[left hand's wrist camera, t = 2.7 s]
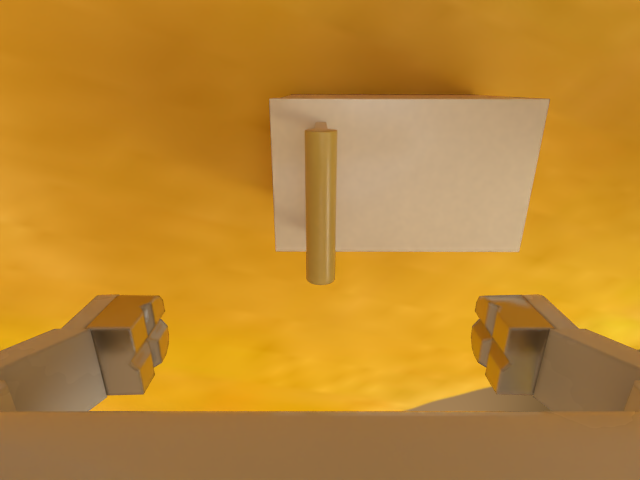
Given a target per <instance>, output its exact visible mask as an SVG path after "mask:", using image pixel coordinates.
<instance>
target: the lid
mask: <svg viewBox="0 0 640 480" xmlns="http://www.w3.org/2000/svg"><path fill="white" fill-rule="evenodd" d="M549 102H550V99H542V98H270V99H269V107H270V131H271V154H272V177H273V200H274V223H275V247H276V251H306V278H307V280H308V282H310V283H312V284H316V285H326V284H330V283H332V282H333V281H334V280H335V251H366V252H519V249H520V245H521V240H522V235H523V230H524V225H525V220H526V215H527V210H528V205H529V200H530V195H531V190H532V185H533V181H534V176H535V171H536V166H537V161H538V156H539V151H540V146H541V141H542V136H543V131H544V126H545V121H546V117H547V112H548V107H549Z"/></svg>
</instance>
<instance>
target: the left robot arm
mask: <svg viewBox="0 0 640 480" xmlns="http://www.w3.org/2000/svg"><path fill="white" fill-rule="evenodd" d="M164 312H165V308H164V303H163V299H162V298H161V297H160V296H151V295H98V296H96V297H95V298H94V299H93V300H92V301H91V302H90V303H89V304H87V305H86V306H85V307H84V308H83V309H82V310H81V311H80V312H79V313H78V314H77V315H75V316H74V317H73V318H72V319H71V320H70V321H69V322H68V323H67V324H66V325H65V326H64V327H62V328H61V329H53V330H51V331H48V332H46V333H43V334H41V335H38V336H36V337H33V338H31V339H29V340H26V341H24V342H21V343H19V344H16V345H14V346H11V347H9V348H7V349H4V350H2V351H0V480H640V351H638V350H636V349H633V348H631V347H628V346H626V345H624V344H621V343H619V342H616V341H614V340H611V339H609V338H606V337H604V336H602V335H599V334H597V333H594V332H592V331H589V330H587V329H579V328H578V327H576V326H575V325H574V324H573V323H572V322H571V321H570V320H569V319H568V318H567V317H566V316H565V315H563V314H562V313H561V312H560V311H559V310H558V309H557V308H556V307H555V306H554V305H553V304H552V303H550V302H549V301H548V300H547V299H546V298H545V297H544V296H542V295H538V294H537V295H497V296H480V297H479V298H478V300H477V302H476V308H475V312H476V314H477V315H478V317H479V318H480V319H479V320H478V321H477V322H476V323H475V324H474V325H473V326H472V333H471V344H472V350H473V353H474V356H475V358H476V360H477V361H478V363H480V364H481V365H483V366H485V367H486V373H485V375H486V377H487V379H488V381H489V382H490V384H491V386H492V387H493V389H494V391H495V392H496V394H504V395H533V397H534V398H535V399H536V400H538V401H539V402H540V403H542V404H543V405H544V406H546V407H547V408H548V409H550V410H551V411H89V410H90V409H92V408H93V407H94V406H96V405H97V404H98V403H100V402H101V401H102V400H104V399H105V398H106V397H107V395H136V394H144V393H145V391H146V389H147V387H148V386H149V384H150V382H151V381H152V379H153V377H154V375H155V373H154V367H155V366H157V365H159V364H160V363H162V361H163V360H164V358H165V356H166V353H167V349H168V345H169V332H168V326H167V325H166V324H165V323H164V322H163V321H162V320H161V319H160V318H161V317H162V315H163V314H164Z"/></svg>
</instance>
